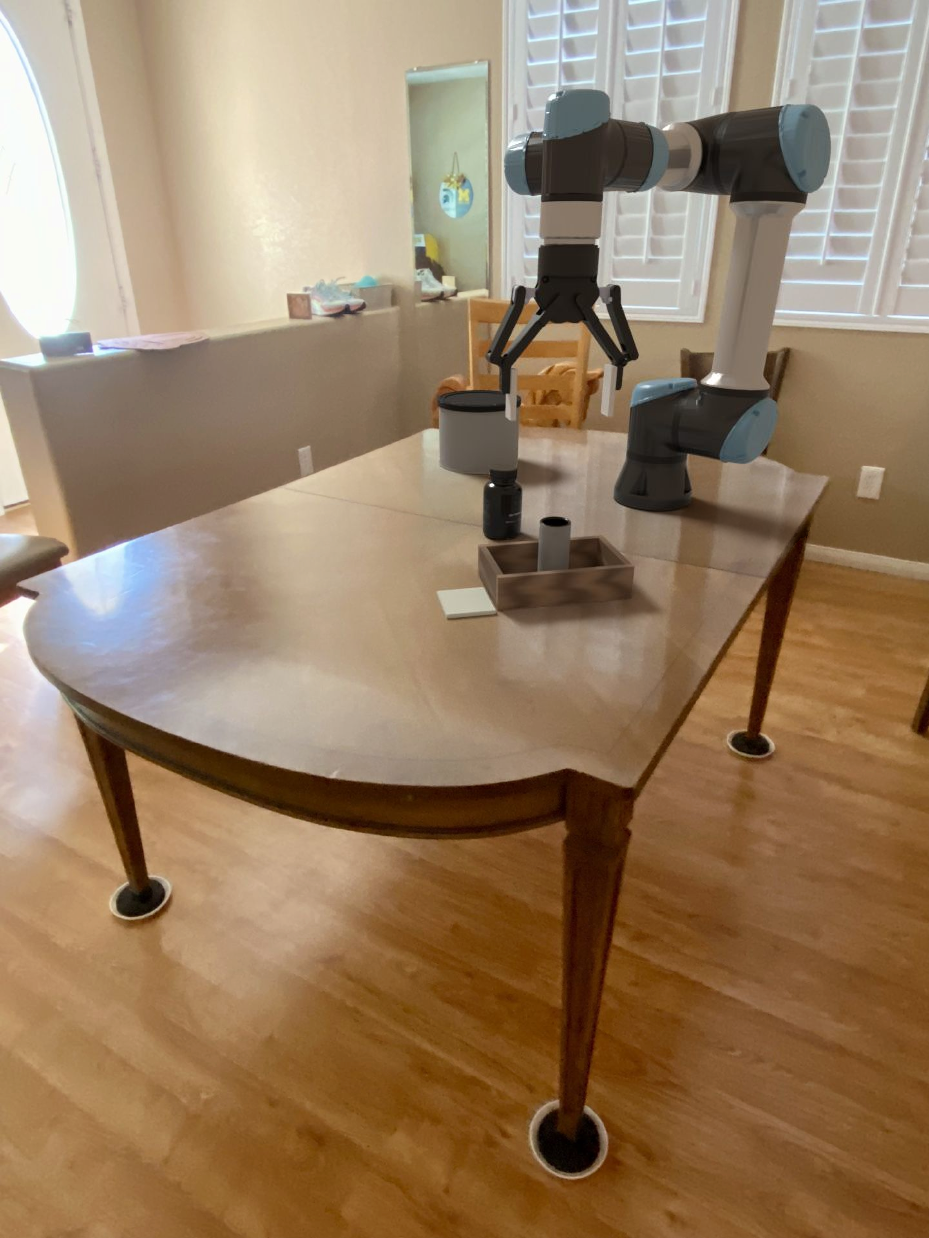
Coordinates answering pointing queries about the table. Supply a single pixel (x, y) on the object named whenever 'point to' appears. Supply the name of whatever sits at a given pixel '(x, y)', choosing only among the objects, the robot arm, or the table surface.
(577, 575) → the box frame
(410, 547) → the table surface
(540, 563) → the gray cylindrical cup
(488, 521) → the supplement bottle
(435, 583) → the table surface
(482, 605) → the coaster
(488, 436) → the container
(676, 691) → the table surface
